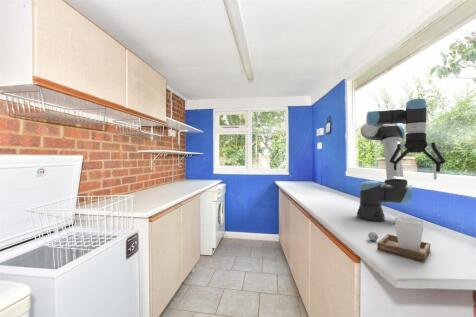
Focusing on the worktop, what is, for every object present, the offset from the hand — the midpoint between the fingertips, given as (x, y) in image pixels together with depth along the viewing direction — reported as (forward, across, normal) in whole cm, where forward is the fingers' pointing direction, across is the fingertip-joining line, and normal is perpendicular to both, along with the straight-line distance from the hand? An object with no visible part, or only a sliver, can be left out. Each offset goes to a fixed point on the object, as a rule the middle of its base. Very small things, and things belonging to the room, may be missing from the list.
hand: (415, 178), depth 102 cm
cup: (+28, +1, -18) cm, 33 cm away
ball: (+29, -13, -16) cm, 35 cm away
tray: (+29, -1, -18) cm, 34 cm away
